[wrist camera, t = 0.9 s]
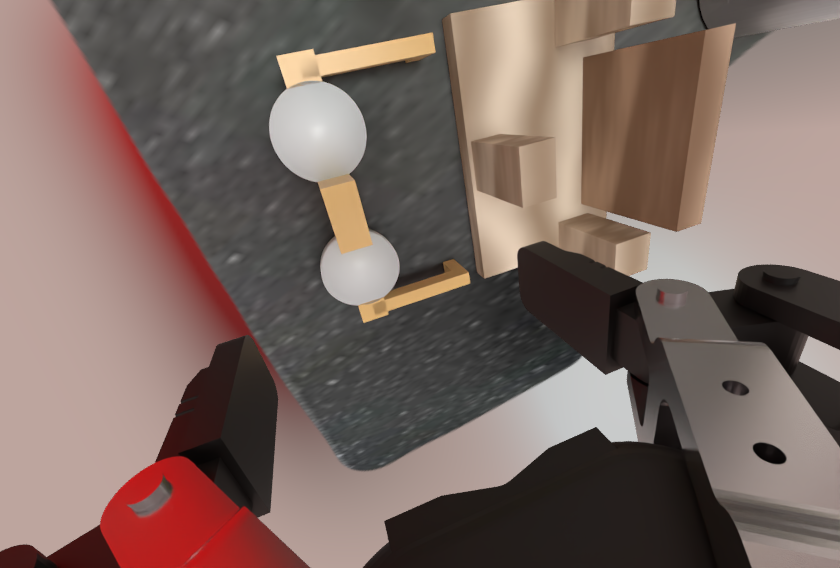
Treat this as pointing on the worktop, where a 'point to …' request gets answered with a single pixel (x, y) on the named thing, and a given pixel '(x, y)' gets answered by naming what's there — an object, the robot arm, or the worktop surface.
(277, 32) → the worktop surface
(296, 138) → the glasses
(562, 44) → the display stand
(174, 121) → the worktop surface
